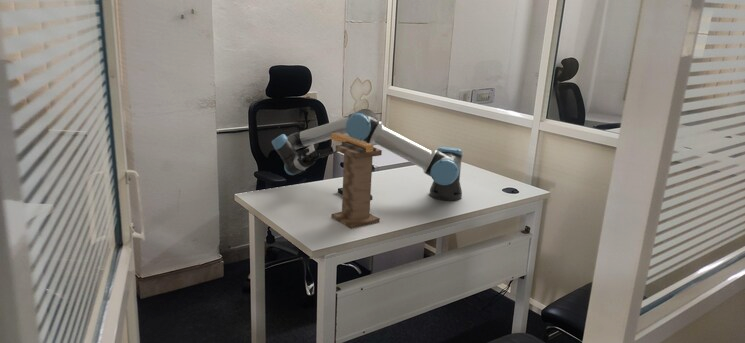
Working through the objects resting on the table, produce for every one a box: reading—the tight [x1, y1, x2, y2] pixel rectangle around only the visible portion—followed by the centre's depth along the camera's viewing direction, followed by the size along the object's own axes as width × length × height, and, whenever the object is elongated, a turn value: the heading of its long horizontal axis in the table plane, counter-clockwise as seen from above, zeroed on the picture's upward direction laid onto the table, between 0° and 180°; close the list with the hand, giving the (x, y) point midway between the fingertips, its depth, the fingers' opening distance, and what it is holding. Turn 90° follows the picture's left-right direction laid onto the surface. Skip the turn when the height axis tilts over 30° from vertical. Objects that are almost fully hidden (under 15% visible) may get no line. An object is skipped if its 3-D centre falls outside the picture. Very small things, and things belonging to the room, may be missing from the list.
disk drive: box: [337, 187, 373, 201], centre depth 247 cm, size 10×3×15 cm
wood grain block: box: [330, 133, 374, 152], centre depth 214 cm, size 24×4×2 cm, turn 37°
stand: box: [331, 142, 383, 230], centre depth 214 cm, size 14×14×31 cm
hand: (327, 145), depth 228 cm, fingers open, 13 cm apart
